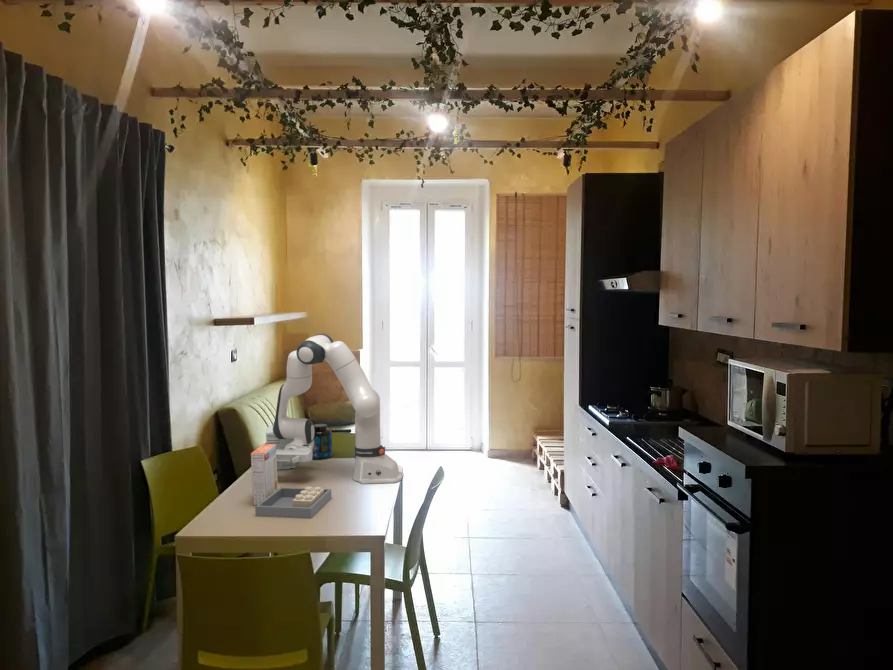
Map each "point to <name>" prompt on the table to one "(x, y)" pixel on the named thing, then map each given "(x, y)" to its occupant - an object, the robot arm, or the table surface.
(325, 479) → the table surface
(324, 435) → the container
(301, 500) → the egg carton
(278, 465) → the supplement box
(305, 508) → the tote
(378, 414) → the robot arm
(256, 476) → the cracker box
